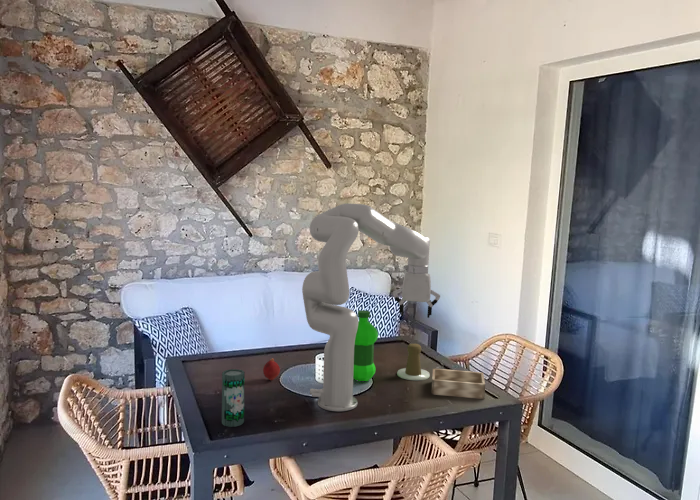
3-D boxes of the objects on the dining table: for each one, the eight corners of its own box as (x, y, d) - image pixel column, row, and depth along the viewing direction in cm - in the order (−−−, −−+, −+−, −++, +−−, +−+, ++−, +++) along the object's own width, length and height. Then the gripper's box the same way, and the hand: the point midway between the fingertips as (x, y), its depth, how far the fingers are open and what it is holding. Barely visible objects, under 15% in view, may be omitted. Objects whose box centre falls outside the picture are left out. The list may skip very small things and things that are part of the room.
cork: (420, 376, 212) (422, 347, 211) (404, 375, 213) (405, 345, 212) (421, 371, 218) (423, 342, 216) (405, 369, 219) (406, 341, 218)
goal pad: (395, 378, 211) (395, 376, 211) (398, 368, 222) (398, 366, 222) (429, 381, 209) (429, 379, 209) (430, 371, 220) (430, 369, 220)
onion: (268, 384, 201) (268, 362, 200) (259, 379, 205) (260, 357, 204) (282, 381, 205) (283, 359, 204) (274, 376, 209) (274, 355, 208)
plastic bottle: (343, 382, 205) (346, 313, 202) (352, 373, 215) (354, 307, 212) (371, 386, 202) (373, 316, 199) (378, 376, 212) (381, 310, 209)
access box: (431, 394, 196) (432, 379, 196) (432, 381, 209) (433, 368, 208) (484, 399, 194) (485, 384, 193) (482, 386, 206) (483, 372, 205)
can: (227, 428, 165) (228, 377, 163) (218, 420, 170) (219, 371, 168) (247, 423, 168) (247, 373, 166) (238, 416, 173) (238, 367, 171)
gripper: (393, 269, 208) (390, 316, 210) (441, 272, 205) (438, 320, 207) (394, 267, 215) (392, 312, 217) (441, 269, 212) (439, 315, 214)
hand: (415, 316), depth 212 cm, fingers open, 9 cm apart
